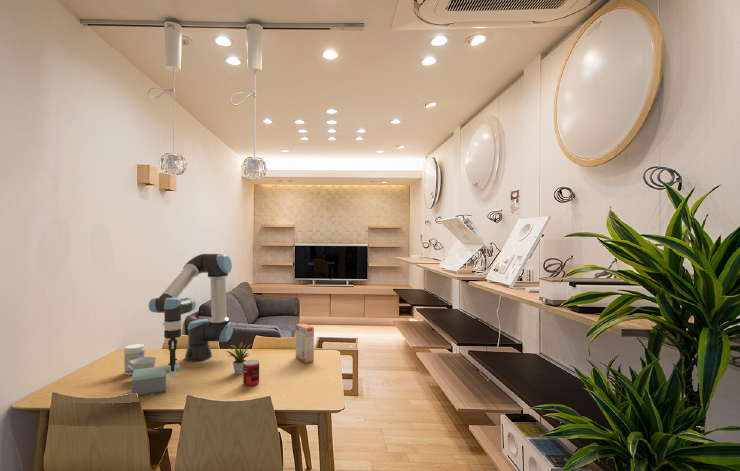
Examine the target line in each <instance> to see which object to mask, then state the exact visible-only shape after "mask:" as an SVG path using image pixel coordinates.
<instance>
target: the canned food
mask: <svg viewBox="0 0 740 471" xmlns="http://www.w3.org/2000/svg"><path fill="white" fill-rule="evenodd" d="M242 375H243V376H242V381H243V385H244V386H246V387H254V386H257V385H258V384H259V383H260V361H259V360H257V359H249V360H246V361H245V362H243V374H242Z"/></svg>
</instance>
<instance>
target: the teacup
mask: <svg viewBox="0 0 740 471" xmlns="http://www.w3.org/2000/svg"><path fill="white" fill-rule="evenodd" d="M157 360H158V358H157V357H154V356H144V357H143V358H138V359H135V360H133V361H132V360H130V361H128V362H127V367H128V368H129V369H131V370H133V372H134V370H137V369H144V368H152V367H156V366H155V365H156V361H157ZM129 363H131V365H132V367H133V368H132V367H130V365H129Z"/></svg>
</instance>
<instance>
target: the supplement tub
mask: <svg viewBox="0 0 740 471" xmlns="http://www.w3.org/2000/svg"><path fill="white" fill-rule="evenodd" d="M123 352H124V356H123V357H124V360H123V362H124V374H125V375H127V376H132V375H133V370H131V369H129V368H128V367H127V362H128V361H130V360H132V361H133V360H135V359H138V358H143V357H145V345H144V343H136V344H135V343H134V344H129V345H126V346H124V351H123ZM129 365H130V367H132V365H131V363H129ZM132 368H133V367H132Z"/></svg>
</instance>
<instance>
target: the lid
mask: <svg viewBox="0 0 740 471" xmlns="http://www.w3.org/2000/svg"><path fill="white" fill-rule="evenodd" d="M178 372H179V373H180V364H176V373H178ZM168 374H170V365H162V366H154V367H152V368H144V369H137V370H134V372H133V375H131V382H132V381H136V380H143V379H150V378H157V377H164V376H166V377H167V375H168Z"/></svg>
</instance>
